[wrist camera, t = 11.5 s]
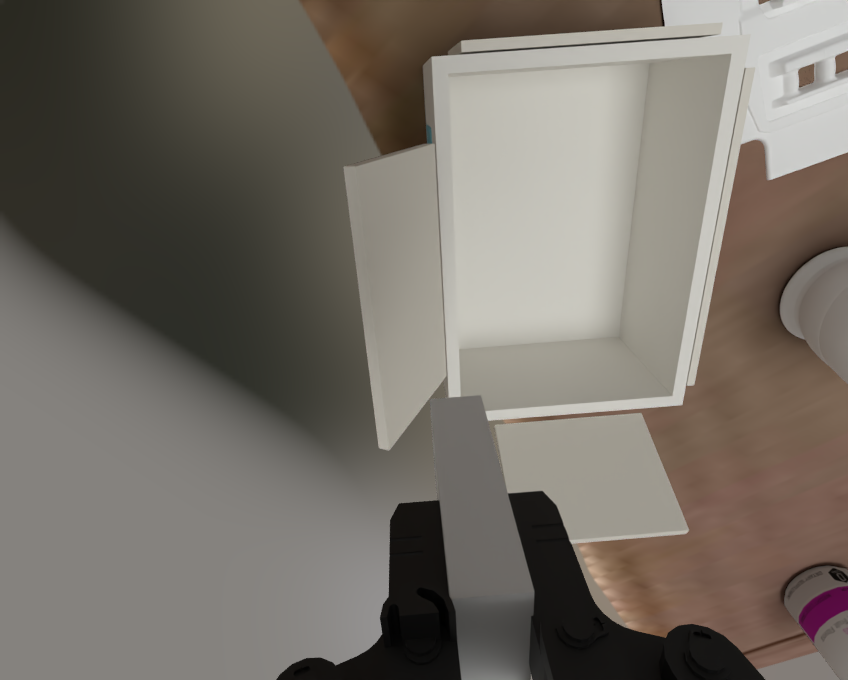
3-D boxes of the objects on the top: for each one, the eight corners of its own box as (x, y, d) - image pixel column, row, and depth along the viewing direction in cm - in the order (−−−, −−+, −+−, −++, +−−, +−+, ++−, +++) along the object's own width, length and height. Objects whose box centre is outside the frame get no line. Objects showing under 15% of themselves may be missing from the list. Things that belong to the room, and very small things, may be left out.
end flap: (516, 544, 30) (515, 548, 30) (689, 530, 30) (685, 533, 30) (494, 424, 35) (494, 429, 35) (641, 413, 35) (638, 417, 35)
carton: (420, 55, 34) (428, 42, 25) (669, 38, 34) (765, 19, 25) (438, 355, 44) (448, 423, 35) (631, 340, 44) (690, 404, 35)
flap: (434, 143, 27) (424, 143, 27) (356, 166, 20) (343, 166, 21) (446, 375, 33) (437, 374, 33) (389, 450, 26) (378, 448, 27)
